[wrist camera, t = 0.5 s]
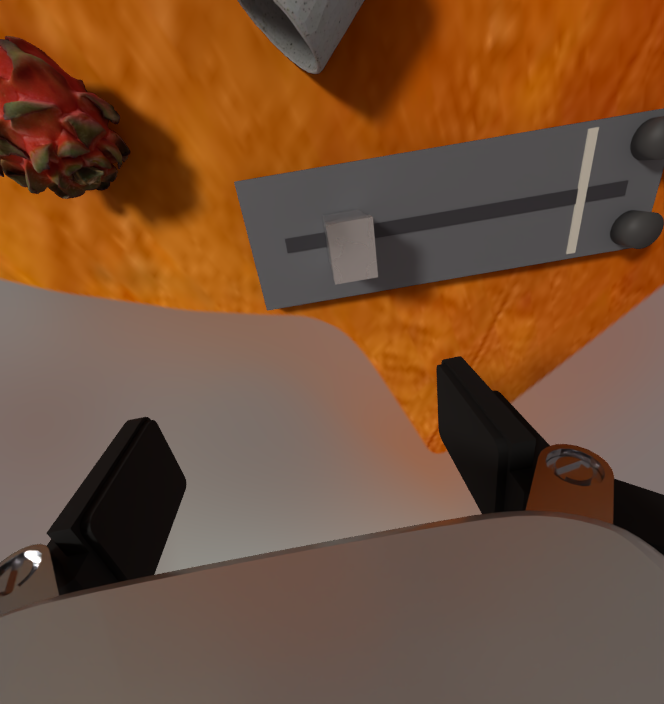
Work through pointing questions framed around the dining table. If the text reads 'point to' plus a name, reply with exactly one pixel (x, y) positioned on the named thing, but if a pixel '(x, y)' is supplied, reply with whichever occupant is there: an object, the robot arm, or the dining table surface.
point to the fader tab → (351, 246)
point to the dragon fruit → (53, 126)
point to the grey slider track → (462, 207)
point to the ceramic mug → (303, 27)
